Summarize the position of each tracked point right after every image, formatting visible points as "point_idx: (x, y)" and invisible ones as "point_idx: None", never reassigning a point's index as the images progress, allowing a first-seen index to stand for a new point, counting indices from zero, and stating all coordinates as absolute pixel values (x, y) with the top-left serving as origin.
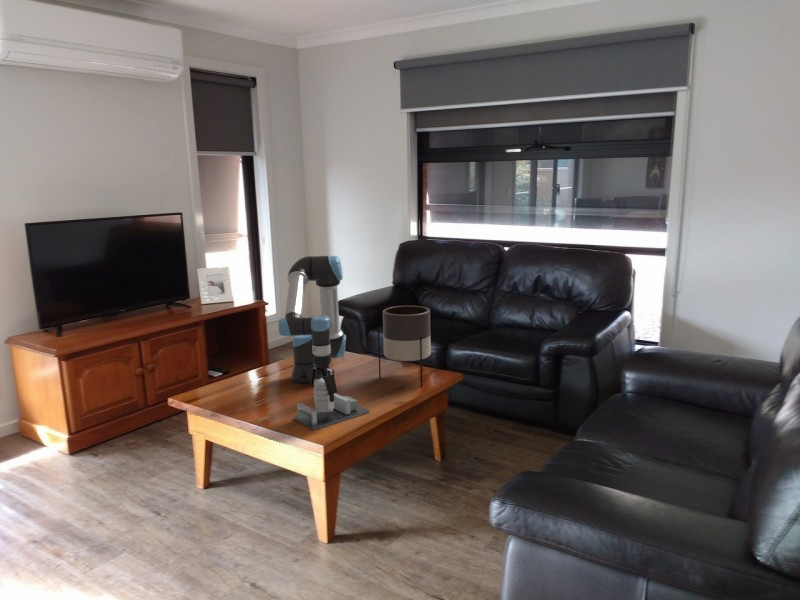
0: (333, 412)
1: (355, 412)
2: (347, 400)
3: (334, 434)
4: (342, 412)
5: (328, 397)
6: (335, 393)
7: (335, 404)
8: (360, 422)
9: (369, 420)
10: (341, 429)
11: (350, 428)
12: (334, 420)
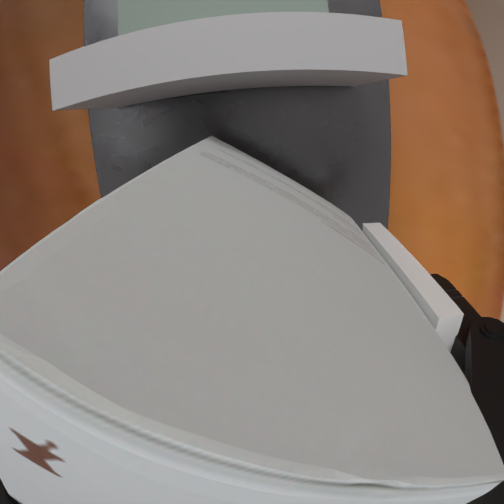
0: (225, 134)
1: (342, 5)
2: (403, 51)
3: (476, 289)
4: (294, 85)
5: None
6: (76, 51)
7: (177, 92)
8: (467, 81)
9: (470, 26)
10: (467, 230)
11: (490, 184)
12: (375, 213)
